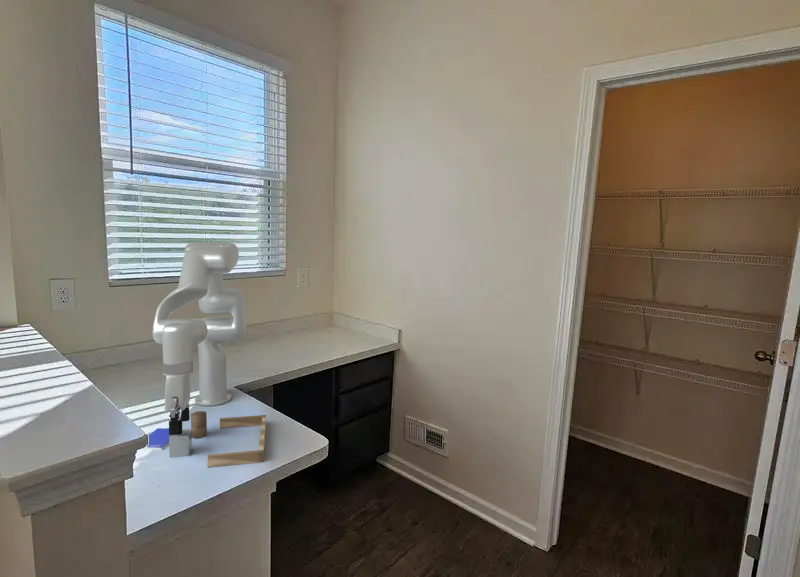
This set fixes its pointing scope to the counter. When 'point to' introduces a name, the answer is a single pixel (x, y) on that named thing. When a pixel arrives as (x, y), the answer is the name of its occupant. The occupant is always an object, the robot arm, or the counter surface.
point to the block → (180, 444)
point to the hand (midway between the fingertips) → (179, 427)
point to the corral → (244, 456)
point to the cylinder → (199, 424)
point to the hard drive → (158, 439)
